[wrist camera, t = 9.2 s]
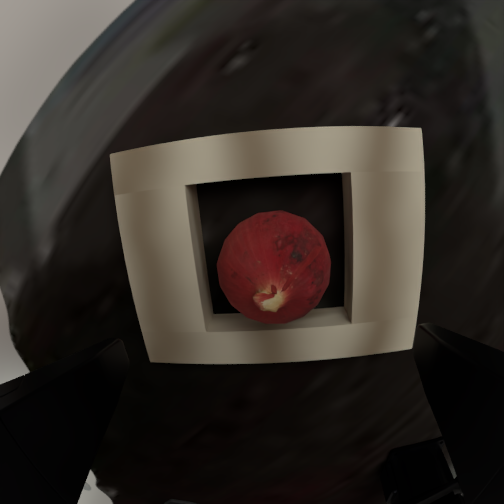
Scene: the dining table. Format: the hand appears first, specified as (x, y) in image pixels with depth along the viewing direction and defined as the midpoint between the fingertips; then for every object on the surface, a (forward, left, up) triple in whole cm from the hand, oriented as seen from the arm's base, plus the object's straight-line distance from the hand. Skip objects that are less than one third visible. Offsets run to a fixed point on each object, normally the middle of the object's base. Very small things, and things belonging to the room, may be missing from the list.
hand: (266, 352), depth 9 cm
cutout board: (0, 0, -12) cm, 12 cm away
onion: (0, 0, -12) cm, 12 cm away
